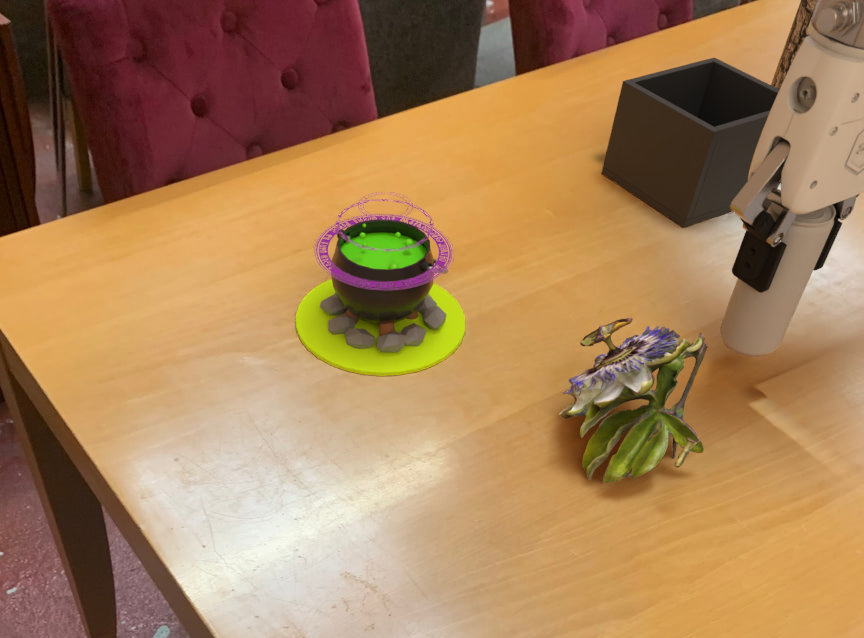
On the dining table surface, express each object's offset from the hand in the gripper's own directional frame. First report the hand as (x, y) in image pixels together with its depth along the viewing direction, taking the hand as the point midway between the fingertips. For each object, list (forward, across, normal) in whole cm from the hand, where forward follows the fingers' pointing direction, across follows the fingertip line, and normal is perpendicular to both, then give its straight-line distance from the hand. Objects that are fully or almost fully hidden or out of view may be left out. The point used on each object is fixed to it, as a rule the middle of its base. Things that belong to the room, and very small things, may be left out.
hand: (776, 269), depth 67 cm
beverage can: (+7, 0, 0) cm, 7 cm away
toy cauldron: (+9, -23, +20) cm, 32 cm away
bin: (+10, +18, +25) cm, 32 cm away
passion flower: (+9, -14, -2) cm, 17 cm away
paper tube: (+11, +35, +27) cm, 46 cm away
